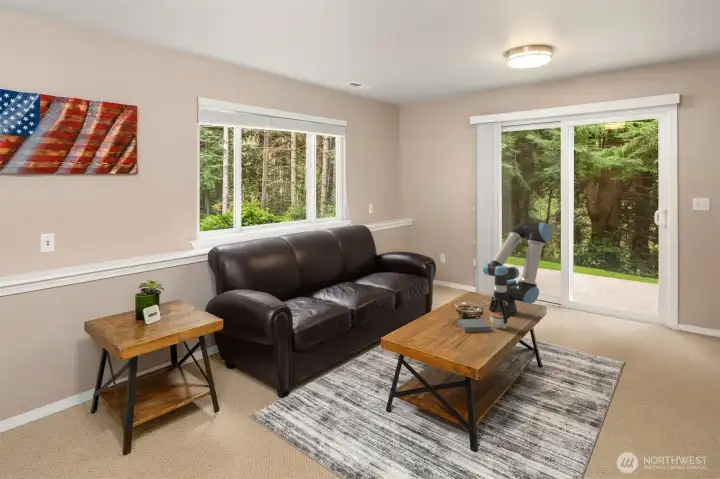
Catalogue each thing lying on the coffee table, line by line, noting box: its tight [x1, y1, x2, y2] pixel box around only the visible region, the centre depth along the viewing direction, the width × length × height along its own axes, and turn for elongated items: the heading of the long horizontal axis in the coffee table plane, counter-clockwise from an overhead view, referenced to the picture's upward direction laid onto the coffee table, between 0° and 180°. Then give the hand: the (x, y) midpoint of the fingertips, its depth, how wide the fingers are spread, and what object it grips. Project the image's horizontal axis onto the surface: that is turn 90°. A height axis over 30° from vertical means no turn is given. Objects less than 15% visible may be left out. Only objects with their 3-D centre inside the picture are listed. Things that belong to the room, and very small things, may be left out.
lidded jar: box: [489, 312, 509, 329], centre depth 260 cm, size 11×11×9 cm
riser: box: [457, 318, 491, 333], centre depth 259 cm, size 16×14×3 cm
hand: (498, 325), depth 261 cm, fingers closed on lidded jar, 11 cm apart
